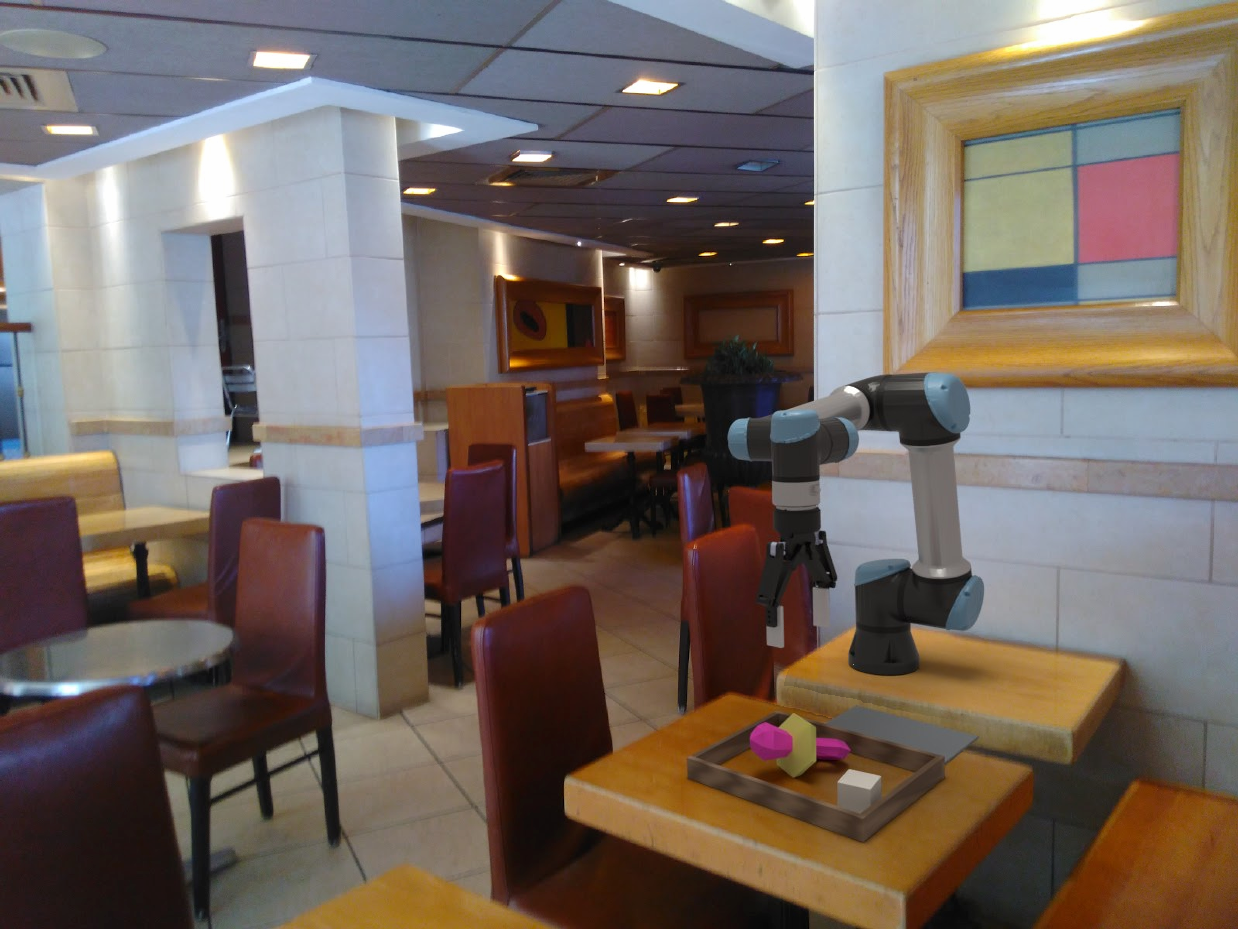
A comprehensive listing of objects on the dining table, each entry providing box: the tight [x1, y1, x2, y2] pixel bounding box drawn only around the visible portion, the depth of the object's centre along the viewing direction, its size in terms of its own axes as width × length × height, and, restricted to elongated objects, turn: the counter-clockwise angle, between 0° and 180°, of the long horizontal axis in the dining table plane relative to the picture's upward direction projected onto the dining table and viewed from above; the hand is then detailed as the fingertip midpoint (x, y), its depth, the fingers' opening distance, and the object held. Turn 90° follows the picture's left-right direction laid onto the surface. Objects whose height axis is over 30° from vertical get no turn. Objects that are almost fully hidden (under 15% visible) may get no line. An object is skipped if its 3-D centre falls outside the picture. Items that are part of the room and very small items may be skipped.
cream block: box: [836, 768, 883, 814], centre depth 135 cm, size 5×5×5 cm
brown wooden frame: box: [686, 710, 946, 843], centre depth 146 cm, size 32×26×4 cm
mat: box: [824, 704, 980, 765], centre depth 161 cm, size 24×18×1 cm
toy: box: [750, 712, 851, 779], centre depth 149 cm, size 10×18×10 cm, turn 109°
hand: (799, 636), depth 147 cm, fingers open, 13 cm apart
